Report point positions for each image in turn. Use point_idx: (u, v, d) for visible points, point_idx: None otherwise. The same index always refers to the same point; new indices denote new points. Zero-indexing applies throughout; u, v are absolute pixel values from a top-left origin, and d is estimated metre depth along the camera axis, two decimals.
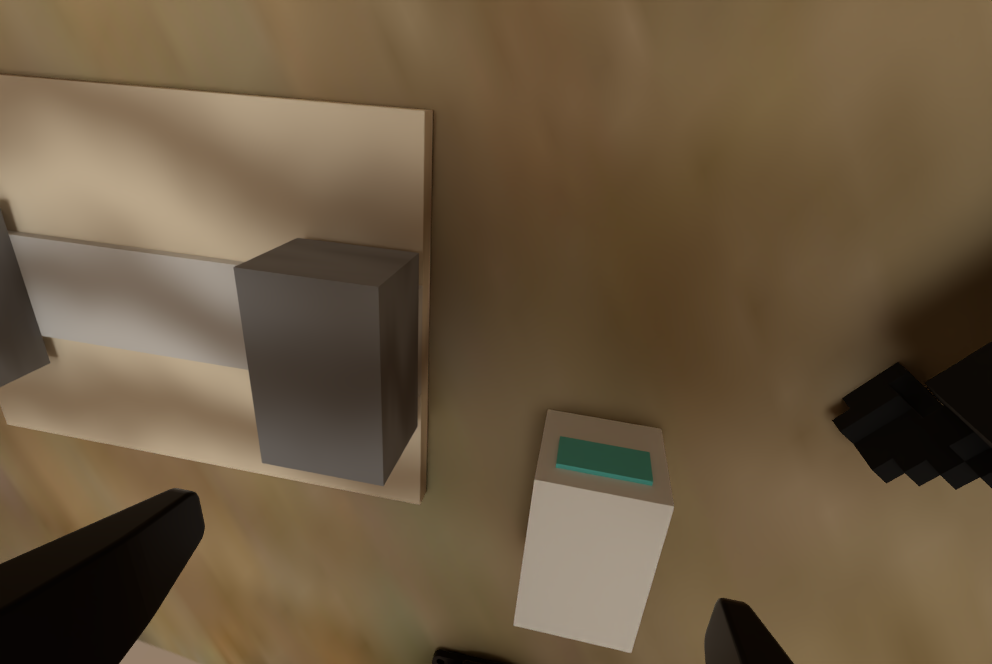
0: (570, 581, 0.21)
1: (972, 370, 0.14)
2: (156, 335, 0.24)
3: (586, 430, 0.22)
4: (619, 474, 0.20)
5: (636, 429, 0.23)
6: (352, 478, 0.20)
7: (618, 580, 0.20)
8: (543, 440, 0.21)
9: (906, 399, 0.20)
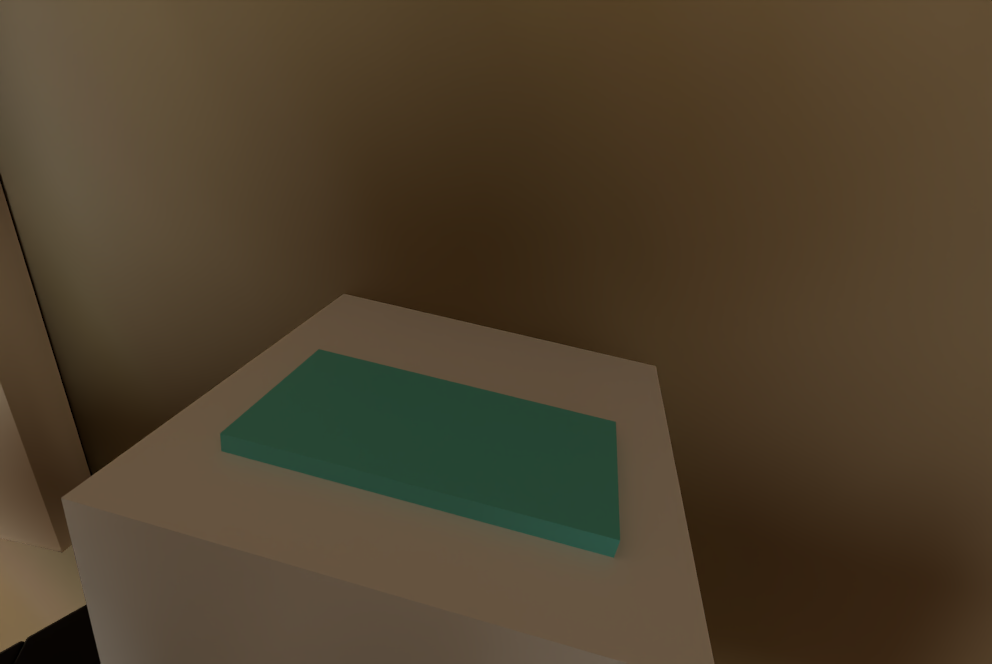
0: None
1: None
2: None
3: (428, 348, 0.07)
4: (475, 496, 0.05)
5: (583, 360, 0.08)
6: None
7: None
8: (258, 360, 0.06)
9: None
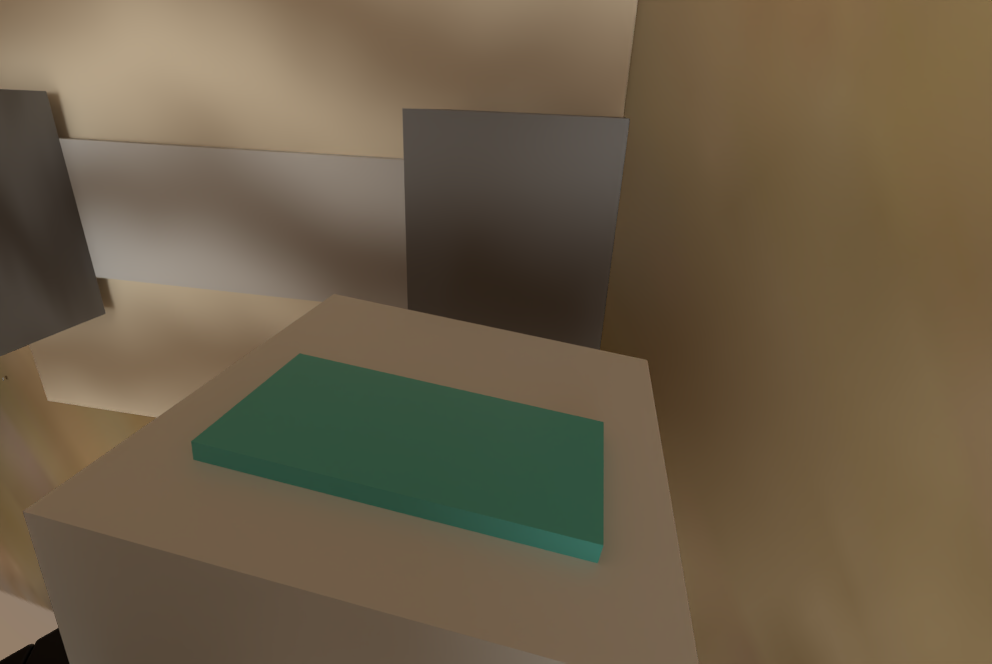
0: None
1: None
2: (245, 266, 0.19)
3: (413, 351, 0.07)
4: (452, 500, 0.04)
5: (573, 360, 0.07)
6: None
7: None
8: (238, 365, 0.06)
9: None
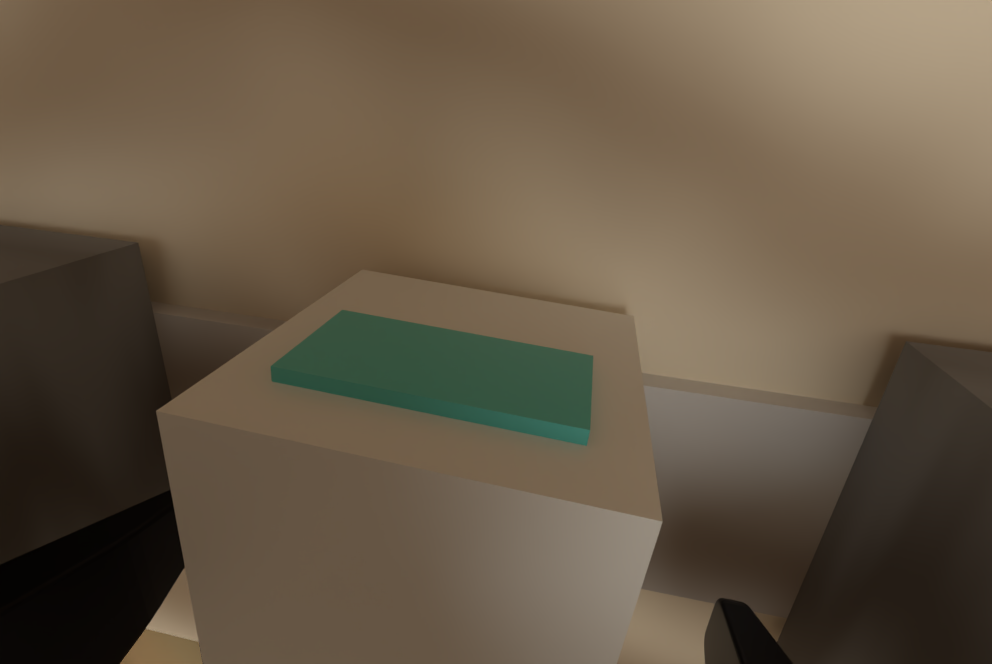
0: None
1: None
2: None
3: (434, 310, 0.08)
4: (473, 403, 0.06)
5: (569, 316, 0.09)
6: None
7: None
8: (292, 320, 0.07)
9: None
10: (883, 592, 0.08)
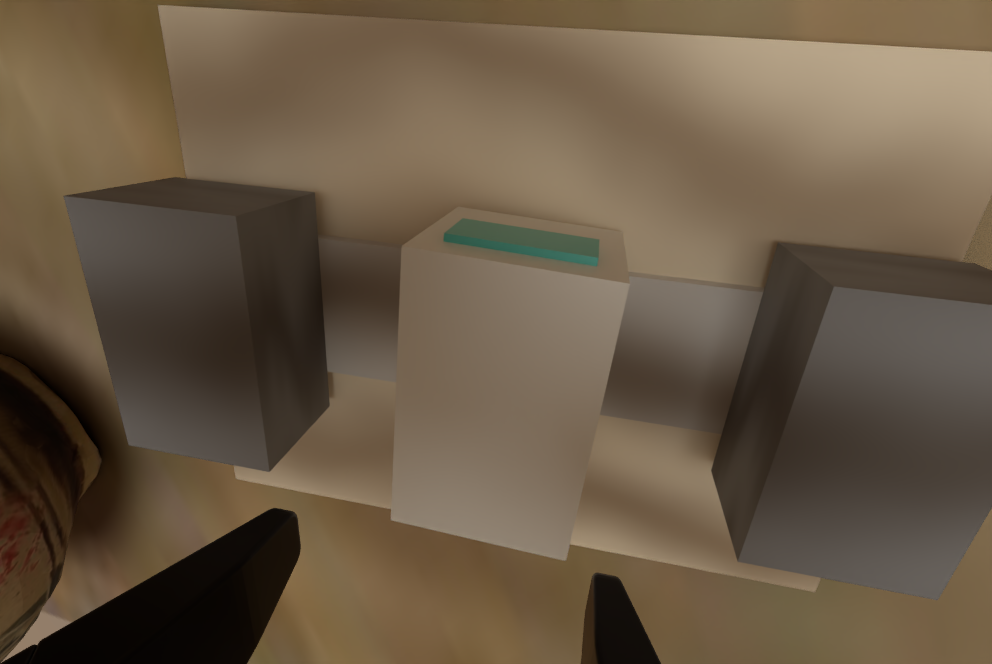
0: (470, 439, 0.13)
1: None
2: None
3: (508, 223, 0.15)
4: (543, 248, 0.12)
5: (584, 229, 0.15)
6: (881, 586, 0.14)
7: (543, 432, 0.13)
8: (436, 223, 0.14)
9: None
10: (762, 382, 0.14)
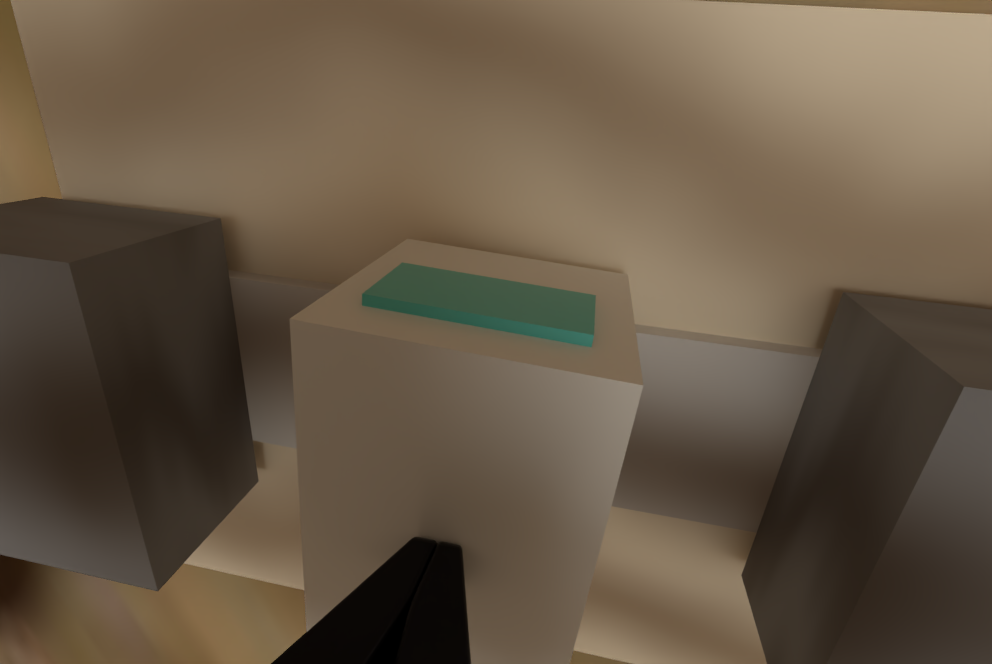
0: None
1: None
2: None
3: (470, 266, 0.11)
4: (510, 318, 0.08)
5: (576, 273, 0.11)
6: None
7: (513, 583, 0.09)
8: (364, 270, 0.10)
9: None
10: (823, 488, 0.10)
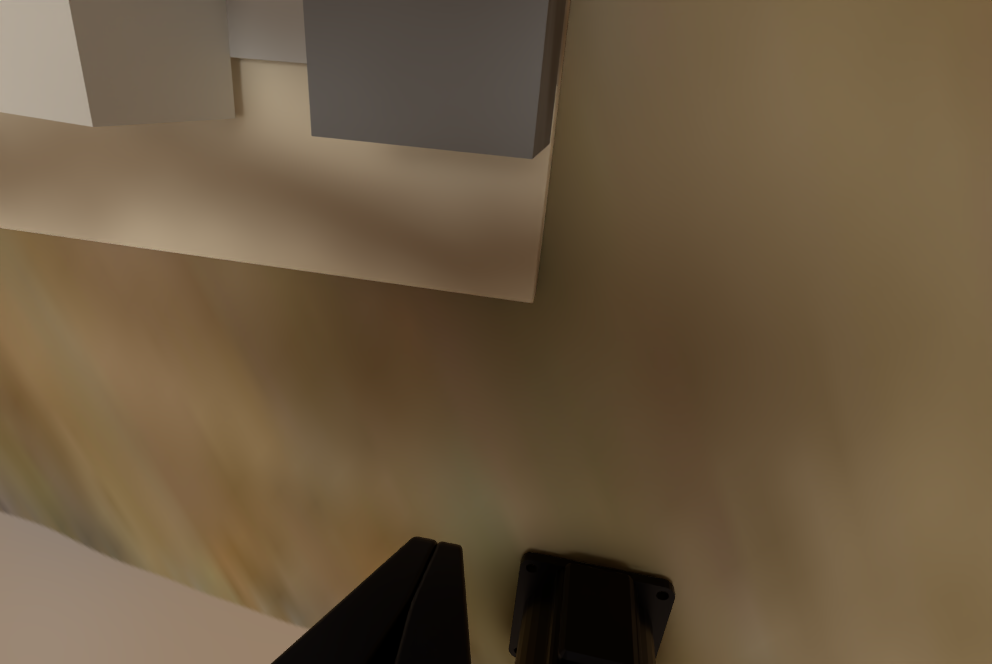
0: None
1: None
2: None
3: None
4: None
5: None
6: (472, 152, 0.11)
7: None
8: None
9: None
10: None
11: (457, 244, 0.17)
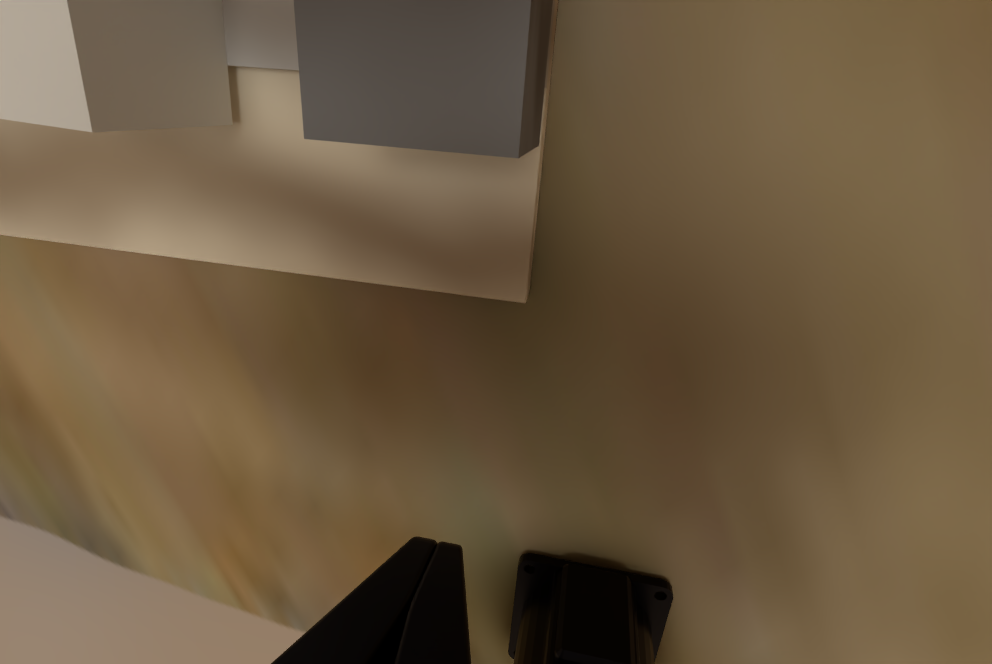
0: None
1: None
2: None
3: None
4: None
5: None
6: (460, 152, 0.12)
7: None
8: None
9: None
10: None
11: (450, 245, 0.17)
